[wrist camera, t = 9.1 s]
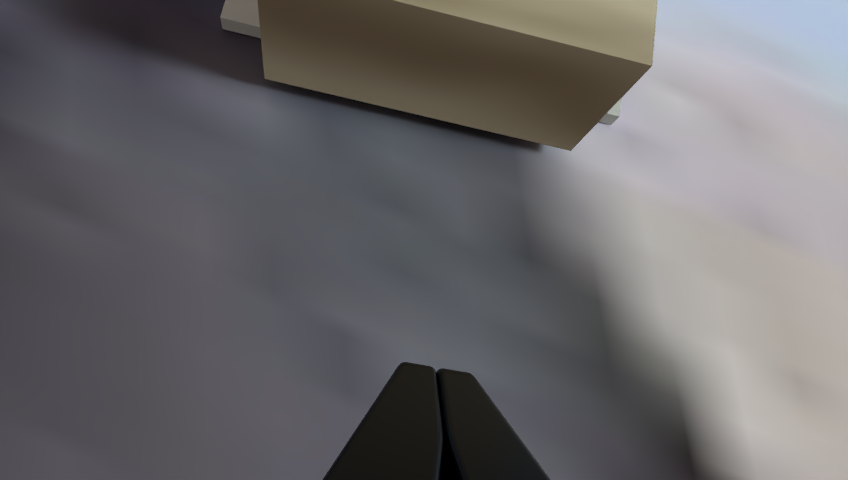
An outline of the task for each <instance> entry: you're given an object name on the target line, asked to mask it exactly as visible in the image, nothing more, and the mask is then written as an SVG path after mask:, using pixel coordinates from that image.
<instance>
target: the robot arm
mask: <svg viewBox="0 0 848 480" xmlns="http://www.w3.org/2000/svg"><path fill="white" fill-rule="evenodd" d="M323 480H550V478H549V477H548V476H547V474H546V473H545V472H544V470H543V469H542V468H541V466H540V465H539V463H538V462H537V461H536V459H535V458H534V457H533V455H532V454H531V453H530V451H529V450H528V449H527V447H526V446H525V445H524V443H523V442H522V440H521V439H520V438H519V436H518V435H517V434H516V432H515V431H514V430H513V428H512V427H511V426H510V424H509V423H508V422H507V420H506V419H505V418H504V416H503V415H502V413H501V412H500V411H499V409H498V408H497V407H496V405H495V404H494V403H493V401H492V400H491V399H490V397H489V396H488V395H487V393H486V392H485V390H484V389H483V388H482V386H481V385H480V384H479V382H478V381H477V380H476V378H475V377H474V376H473V375H472V374H470V373H467V372H461V371H455V370H449V369H439V370H438V371H437V372H436V371H435V369H434V368H432V367H430V366H425V365H420V364H414V363H408V362H403V363H401V364H400V365H399V366H398V367H397V368H396V370H395V372H394V373H393V375H392V376H391V378H390V379H389V381H388V382H387V384H386V385H385V387H384V388H383V390H382V391H381V393H380V394H379V396H378V397H377V399H376V400H375V402H374V403H373V405H372V406H371V408H370V409H369V411H368V412H367V414H366V415H365V417H364V418H363V420H362V421H361V423H360V424H359V426H358V427H357V429H356V430H355V432H354V433H353V435H352V436H351V438H350V439H349V441H348V442H347V444H346V445H345V447H344V448H343V450H342V451H341V453H340V454H339V456H338V457H337V459H336V460H335V462H334V463H333V465H332V466H331V468H330V469H329V471H328V472H327V474H326V475H325V477H324V478H323Z"/></svg>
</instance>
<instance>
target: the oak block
mask: <svg viewBox="0 0 848 480" xmlns="http://www.w3.org/2000/svg"><path fill="white" fill-rule="evenodd" d="M257 1H258V12H259V23H260V34H261V45H262V57H263V68H264V79H268V80H272V81H276V82H280V83H285V84H289V85H293V86H297V87H302V88H306V89H310V90H314V91H319V92H323V93H327V94H331V95H336V96H340V97H344V98H348V99H353V100H357V101H361V102H365V103H370V104H374V105H378V106H382V107H387V108H391V109H395V110H400V111H404V112H408V113H412V114H417V115H421V116H425V117H429V118H434V119H438V120H442V121H446V122H451V123H455V124H459V125H463V126H468V127H472V128H476V129H480V130H485V131H489V132H493V133H497V134H502V135H506V136H510V137H515V138H519V139H523V140H527V141H532V142H536V143H540V144H544V145H549V146H553V147H557V148H561V149H566V150H570V151H571V150H572V149H573V148H574V147H575V146H576V145H577V144H578V143H579V142H580V141H581V139H582V138H583V137H584V136H585V135H586V134H587V133H588V132H589V131H590V130H591V129H592V128H593V127H594V126H595V125H596V124H597V123H598V122H599V121H600V120H601V119H602V118H603V116H604V115H605V114H606V113H607V112H608V111H609V110H610V109H611V108H612V107H613V106H614V105H615V104H616V103H617V102H618V101H619V100H620V99H621V98H622V97H623V96H624V95H625V94H626V92H627V91H628V90H629V89H630V88H631V87H632V86H633V85H634V84H635V83H636V82H637V81H638V80H639V79H640V78H641V77H642V76H643V75H644V74H645V73H646V72H647V71H648V69H649V68H650V67H651V66H652V60H653V48H654V36H655V24H656V12H657V0H257Z"/></svg>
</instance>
